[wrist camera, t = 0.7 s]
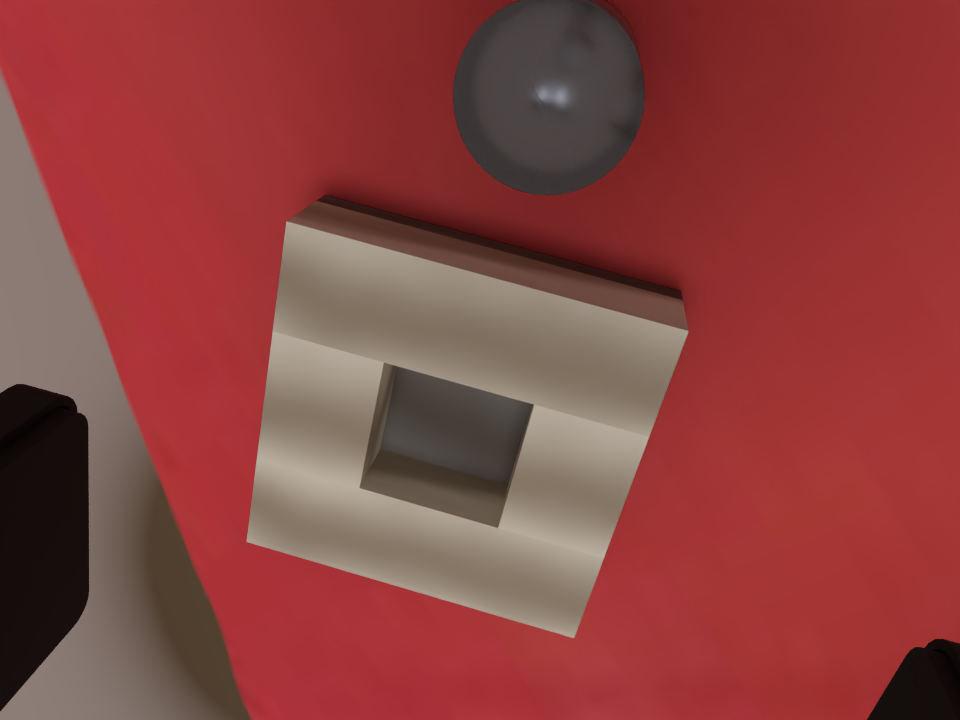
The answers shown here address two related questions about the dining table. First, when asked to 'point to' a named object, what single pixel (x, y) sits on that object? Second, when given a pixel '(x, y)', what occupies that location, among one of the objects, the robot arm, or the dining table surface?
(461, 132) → the steel peg
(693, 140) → the dining table surface
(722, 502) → the dining table surface
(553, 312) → the socket block
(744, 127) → the dining table surface
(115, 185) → the dining table surface
